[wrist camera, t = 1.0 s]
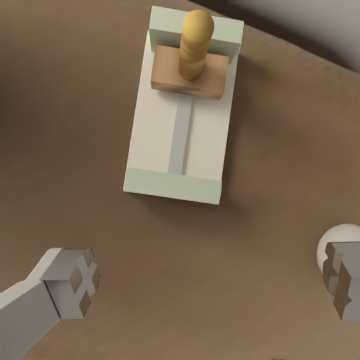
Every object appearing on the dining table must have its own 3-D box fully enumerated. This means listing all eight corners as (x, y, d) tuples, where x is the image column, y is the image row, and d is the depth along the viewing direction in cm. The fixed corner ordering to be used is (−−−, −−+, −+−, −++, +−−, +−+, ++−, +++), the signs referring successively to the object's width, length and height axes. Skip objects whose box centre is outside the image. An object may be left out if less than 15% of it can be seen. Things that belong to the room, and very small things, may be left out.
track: (125, 190, 43) (115, 189, 35) (148, 38, 45) (144, 4, 37) (215, 203, 44) (226, 205, 36) (236, 52, 45) (251, 22, 37)
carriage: (151, 88, 41) (144, 41, 28) (156, 55, 41) (152, -8, 28) (219, 99, 41) (244, 57, 29) (224, 66, 42) (250, 9, 29)
